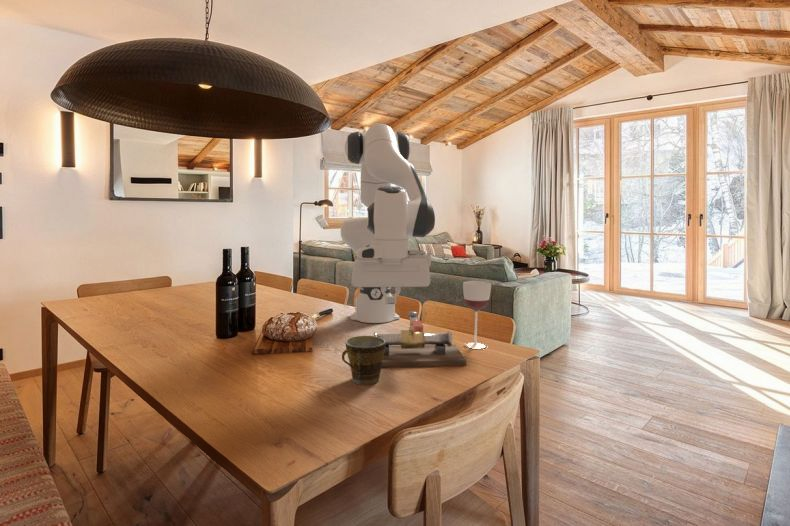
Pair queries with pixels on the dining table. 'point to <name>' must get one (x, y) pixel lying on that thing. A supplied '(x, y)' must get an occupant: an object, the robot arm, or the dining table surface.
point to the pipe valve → (417, 340)
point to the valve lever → (415, 322)
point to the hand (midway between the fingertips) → (390, 303)
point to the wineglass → (476, 302)
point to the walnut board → (423, 357)
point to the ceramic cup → (365, 358)
